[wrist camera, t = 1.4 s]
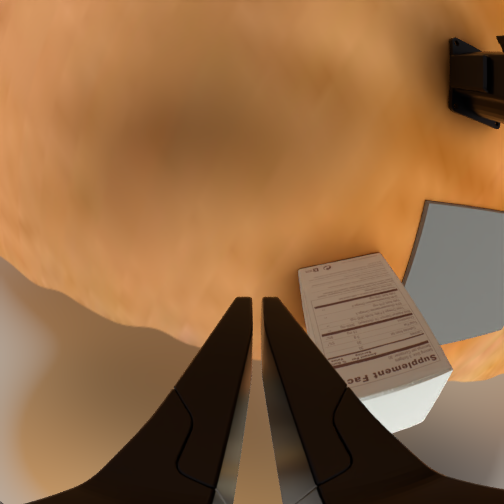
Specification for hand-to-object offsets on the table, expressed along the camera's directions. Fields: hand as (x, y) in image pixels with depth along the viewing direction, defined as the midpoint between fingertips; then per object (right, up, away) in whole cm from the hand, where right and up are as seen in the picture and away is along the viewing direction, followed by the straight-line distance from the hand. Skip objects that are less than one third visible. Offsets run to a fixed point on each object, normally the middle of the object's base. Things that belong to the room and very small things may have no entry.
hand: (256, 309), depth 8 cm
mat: (+26, -2, +17) cm, 31 cm away
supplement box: (+8, -2, +17) cm, 18 cm away
